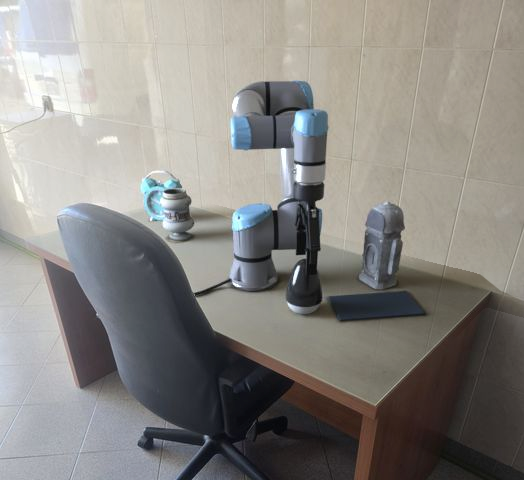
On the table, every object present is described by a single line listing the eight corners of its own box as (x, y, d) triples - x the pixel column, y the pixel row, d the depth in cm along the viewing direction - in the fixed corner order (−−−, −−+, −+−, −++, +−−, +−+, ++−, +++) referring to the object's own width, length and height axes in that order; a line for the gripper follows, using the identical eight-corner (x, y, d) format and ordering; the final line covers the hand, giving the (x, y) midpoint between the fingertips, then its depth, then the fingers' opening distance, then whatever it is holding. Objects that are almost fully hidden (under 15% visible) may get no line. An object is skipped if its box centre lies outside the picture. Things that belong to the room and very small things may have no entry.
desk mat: (340, 321, 126) (340, 319, 126) (327, 298, 138) (328, 296, 138) (425, 315, 129) (425, 313, 128) (405, 292, 140) (406, 290, 140)
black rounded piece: (328, 306, 134) (331, 256, 125) (311, 322, 126) (313, 270, 118) (296, 298, 138) (298, 249, 130) (278, 312, 131) (279, 262, 123)
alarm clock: (141, 222, 199) (133, 173, 188) (149, 215, 207) (142, 167, 196) (180, 223, 196) (175, 174, 185) (187, 216, 204) (182, 168, 193)
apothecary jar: (159, 236, 184) (152, 189, 174) (186, 230, 190) (181, 184, 180) (173, 245, 175) (167, 197, 166) (201, 238, 181) (197, 191, 171)
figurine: (381, 293, 140) (392, 210, 126) (352, 276, 151) (360, 197, 137) (405, 286, 144) (420, 205, 130) (376, 270, 154) (386, 193, 140)
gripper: (285, 171, 123) (284, 248, 134) (304, 196, 102) (300, 284, 114) (313, 169, 124) (309, 246, 135) (337, 194, 103) (331, 282, 114)
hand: (305, 264), depth 124 cm, fingers open, 13 cm apart
